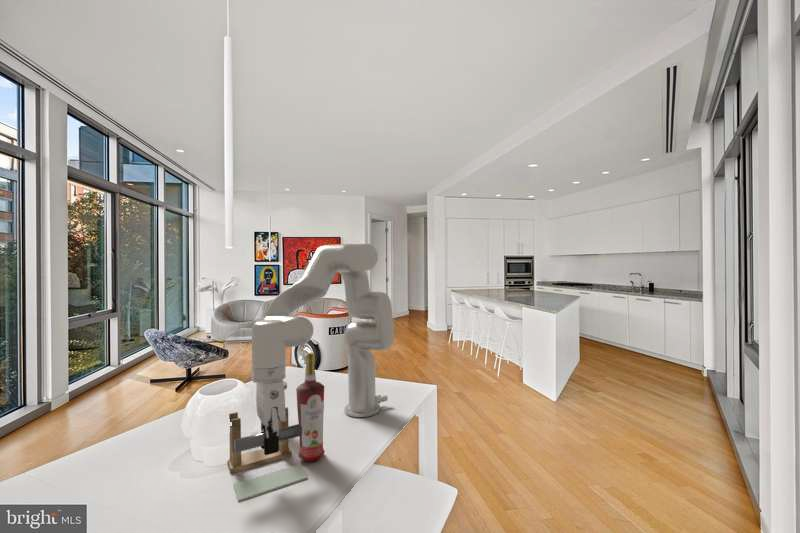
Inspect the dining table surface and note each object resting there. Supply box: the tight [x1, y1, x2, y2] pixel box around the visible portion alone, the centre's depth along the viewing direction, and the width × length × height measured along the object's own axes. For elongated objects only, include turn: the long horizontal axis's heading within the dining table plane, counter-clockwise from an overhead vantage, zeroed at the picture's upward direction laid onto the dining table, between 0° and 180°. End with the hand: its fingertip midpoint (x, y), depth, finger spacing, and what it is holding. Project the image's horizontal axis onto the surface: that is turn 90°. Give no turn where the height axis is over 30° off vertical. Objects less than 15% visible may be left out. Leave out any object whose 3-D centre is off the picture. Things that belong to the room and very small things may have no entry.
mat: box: [233, 463, 308, 503], centre depth 87 cm, size 16×7×1 cm, turn 122°
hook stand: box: [226, 406, 293, 475], centre depth 97 cm, size 15×6×13 cm, turn 122°
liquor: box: [296, 352, 325, 463], centre depth 97 cm, size 7×7×28 cm
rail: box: [234, 423, 302, 453], centre depth 86 cm, size 15×3×3 cm, turn 122°
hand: (269, 449), depth 86 cm, fingers closed on rail, 2 cm apart
